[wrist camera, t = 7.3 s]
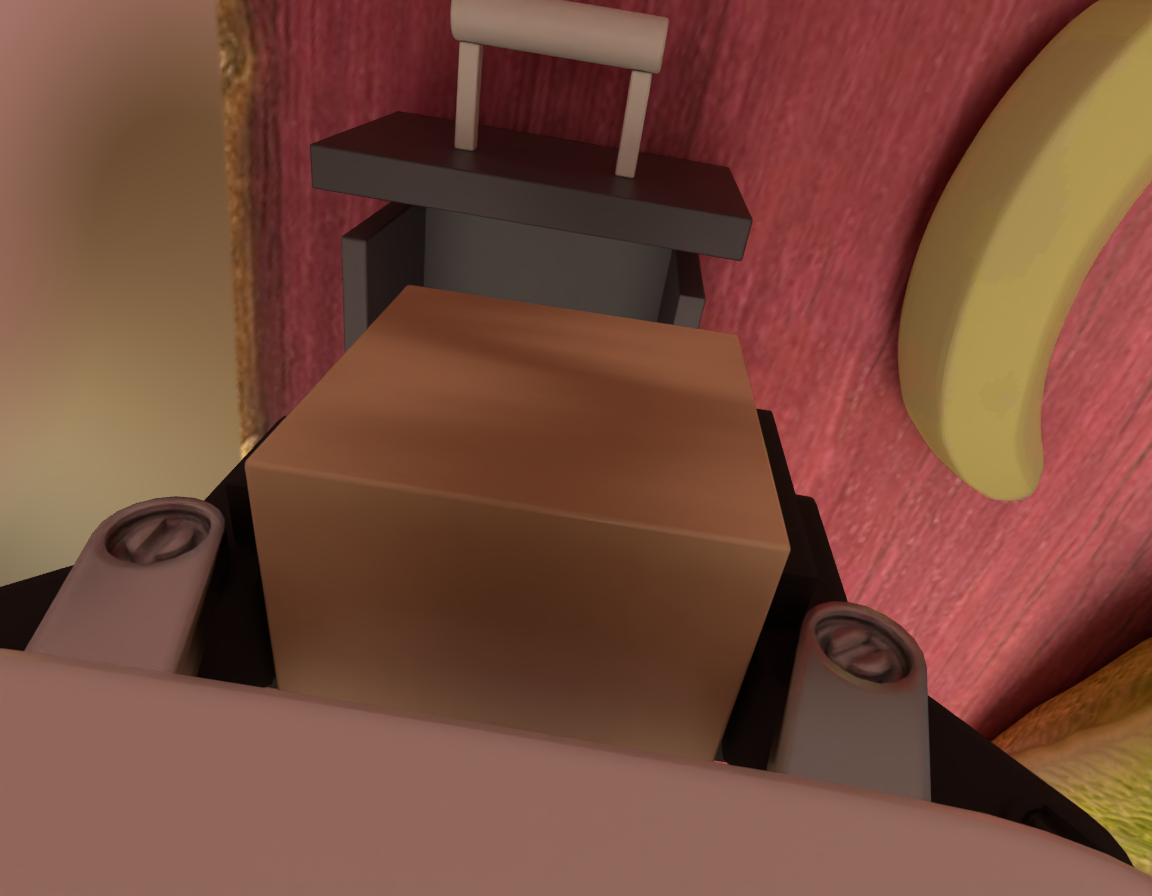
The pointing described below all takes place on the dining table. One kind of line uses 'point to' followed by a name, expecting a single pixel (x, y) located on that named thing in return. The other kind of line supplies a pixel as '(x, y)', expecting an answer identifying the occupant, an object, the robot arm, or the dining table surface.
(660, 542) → the block
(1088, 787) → the lettuce
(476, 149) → the pull-out tray
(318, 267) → the dining table surface
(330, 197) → the dining table surface
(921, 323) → the banana
